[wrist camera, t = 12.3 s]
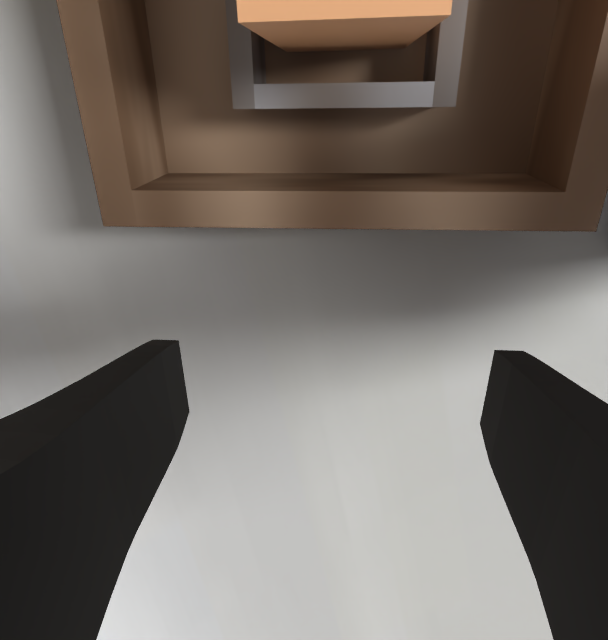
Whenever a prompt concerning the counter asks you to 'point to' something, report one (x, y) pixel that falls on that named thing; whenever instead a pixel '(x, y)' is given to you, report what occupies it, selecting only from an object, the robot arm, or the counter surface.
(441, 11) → the peach plain square-edged block
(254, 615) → the counter surface
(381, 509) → the counter surface
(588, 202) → the walled box
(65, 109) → the counter surface
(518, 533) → the robot arm
